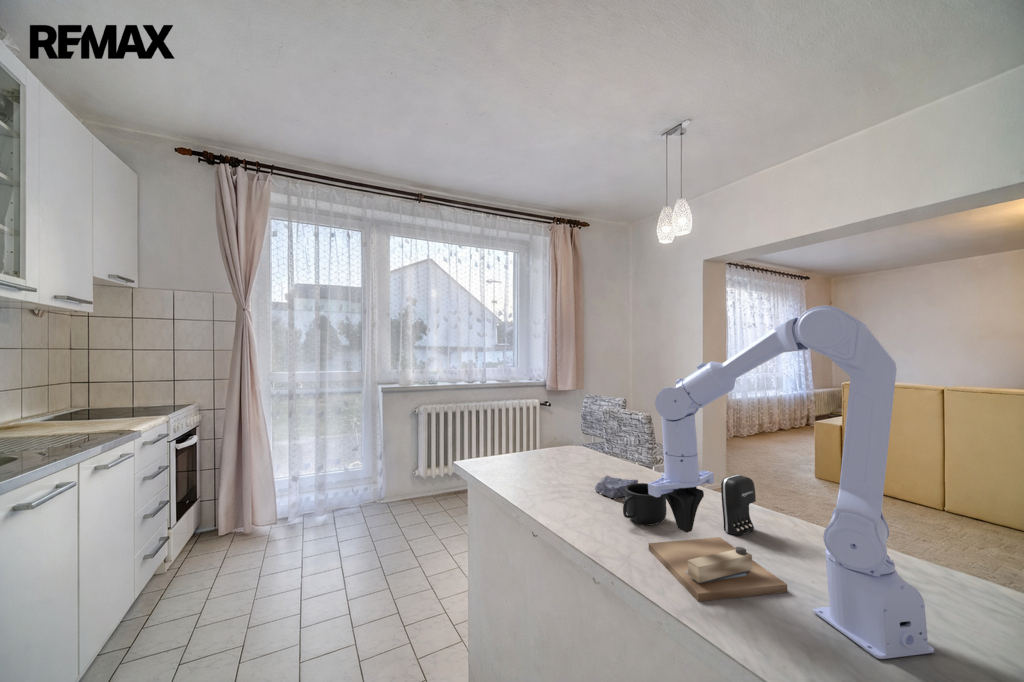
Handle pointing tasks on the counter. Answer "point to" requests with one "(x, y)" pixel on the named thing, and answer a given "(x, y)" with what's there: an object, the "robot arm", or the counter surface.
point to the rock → (613, 486)
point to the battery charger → (737, 504)
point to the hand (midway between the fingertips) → (684, 529)
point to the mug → (643, 505)
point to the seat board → (725, 587)
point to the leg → (720, 564)
